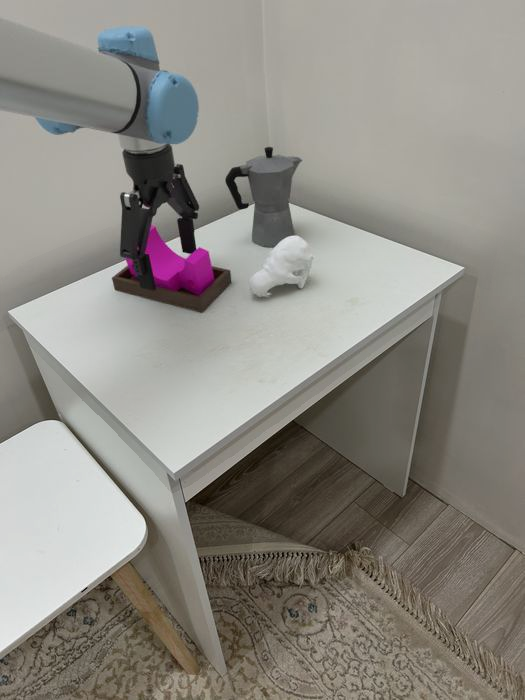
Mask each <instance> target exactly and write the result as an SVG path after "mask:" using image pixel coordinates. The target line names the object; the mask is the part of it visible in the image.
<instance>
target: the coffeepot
mask: <svg viewBox="0 0 525 700" xmlns="http://www.w3.org/2000/svg"><path fill="white" fill-rule="evenodd" d="M273 152H274V147H272V146H266V147H264V153H265V155H258V156H256V157H254V158H251V159H248V160H246V162H245V164H241V165H239V166H235V167H231V169H230V170H229V172H228V173H227V174H226V176H225V179H224V180H225V184H226V186H227V188H228V190H229V192H230V195H231V197H232V199H233V201H234V203H235V206H236V208H237V209H238V210H246V209H248V208H249V206H250V205H249V204H250V203H249V202H247V203H244V202H243V200H242V195H241V194H240V192H239V189H238V185H237V183H236V181H235V180H236V178H246V177H247V179H248V184H249V189H250V193H251V197H252V201H253V202H254V208H253V216H252V217H253V218H252V230H251V242H253V243H254V244H256V245H258V246H261V247H264V248H265V247H266V248H274V247H275V246H276V245H277V244H278V243H279V242H280V241H282V240H283V239H285V238H286V237H289V236H296V235H295V228H294V222H293V218H292V214H291V209H290V202H289V201H290V199H291V192H292V183H293V177H294V175H295V172H296V171H297V169H298V167H299V165H300V163H302V162H303V159H302V158H300V157H299V156H285V155H281V154H273Z"/></svg>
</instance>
